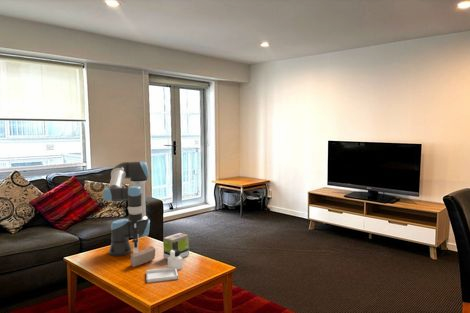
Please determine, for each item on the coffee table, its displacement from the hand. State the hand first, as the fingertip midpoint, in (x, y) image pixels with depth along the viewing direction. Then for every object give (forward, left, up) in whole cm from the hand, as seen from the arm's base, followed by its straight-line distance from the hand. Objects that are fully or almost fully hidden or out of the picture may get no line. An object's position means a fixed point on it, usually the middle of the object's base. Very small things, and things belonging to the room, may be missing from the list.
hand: (136, 248), depth 201 cm
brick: (-23, +4, -19) cm, 30 cm away
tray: (0, +14, -18) cm, 23 cm away
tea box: (-30, +26, -19) cm, 44 cm away
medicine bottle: (-11, +23, -19) cm, 32 cm away
